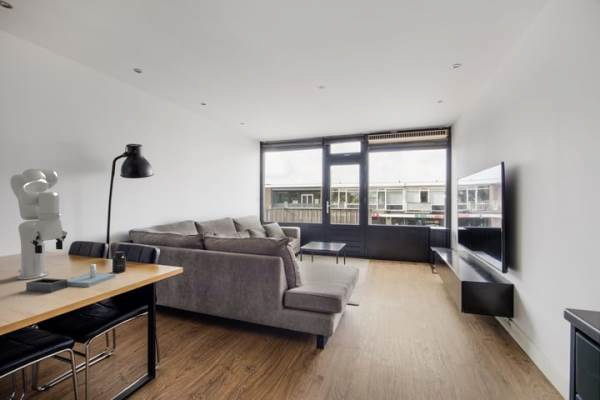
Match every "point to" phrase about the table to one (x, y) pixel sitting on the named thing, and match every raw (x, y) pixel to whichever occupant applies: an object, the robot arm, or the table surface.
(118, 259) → the supplement bottle
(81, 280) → the board
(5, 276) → the table surface
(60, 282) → the dark gray open box
